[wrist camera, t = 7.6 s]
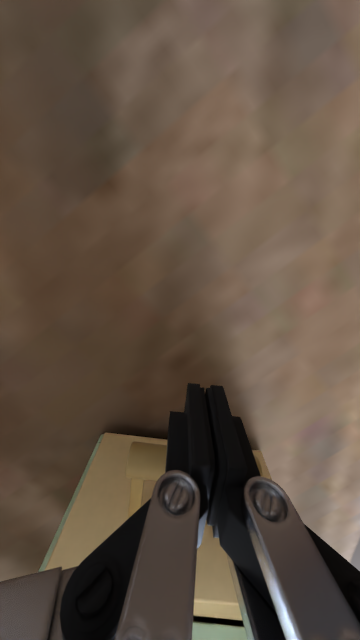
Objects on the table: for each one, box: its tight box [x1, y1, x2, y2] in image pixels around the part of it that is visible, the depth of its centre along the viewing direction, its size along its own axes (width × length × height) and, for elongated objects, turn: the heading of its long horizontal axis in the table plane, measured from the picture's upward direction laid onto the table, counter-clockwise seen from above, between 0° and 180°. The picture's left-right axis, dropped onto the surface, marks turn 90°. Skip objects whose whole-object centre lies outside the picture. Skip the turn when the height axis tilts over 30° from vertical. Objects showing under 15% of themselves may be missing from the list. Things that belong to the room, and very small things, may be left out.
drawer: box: [44, 433, 272, 627], centre depth 13 cm, size 18×11×7 cm, turn 173°
